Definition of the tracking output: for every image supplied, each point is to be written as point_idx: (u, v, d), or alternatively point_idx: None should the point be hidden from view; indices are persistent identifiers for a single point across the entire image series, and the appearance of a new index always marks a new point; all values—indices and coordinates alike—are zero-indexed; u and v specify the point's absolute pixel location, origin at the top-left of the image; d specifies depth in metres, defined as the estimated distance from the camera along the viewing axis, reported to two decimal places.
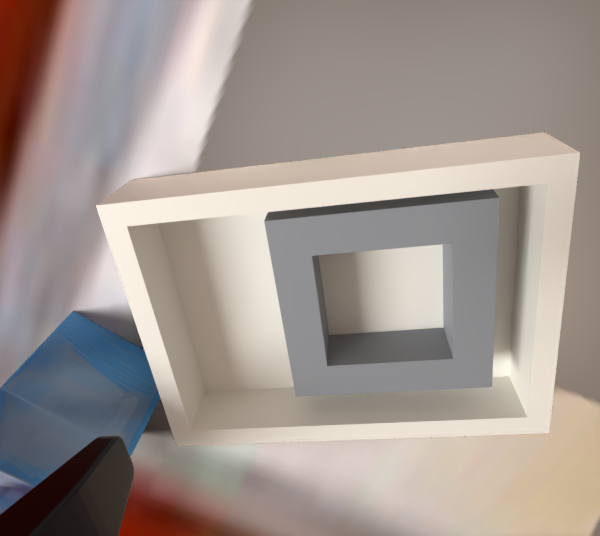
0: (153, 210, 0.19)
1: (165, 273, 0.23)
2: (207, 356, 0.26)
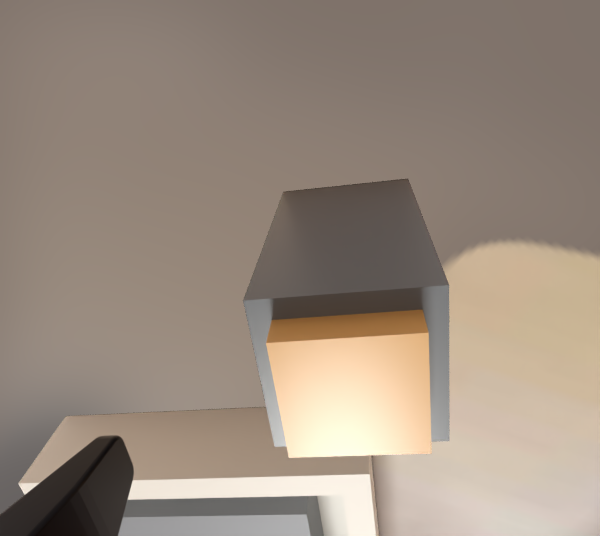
0: None
1: None
2: None
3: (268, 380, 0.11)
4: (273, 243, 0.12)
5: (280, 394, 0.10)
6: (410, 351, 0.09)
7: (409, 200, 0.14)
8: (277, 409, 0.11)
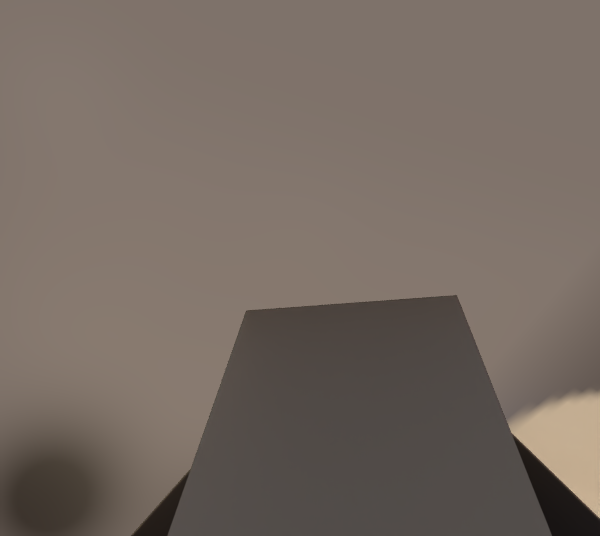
0: None
1: None
2: None
3: None
4: (200, 496, 0.06)
5: None
6: None
7: (471, 365, 0.07)
8: None
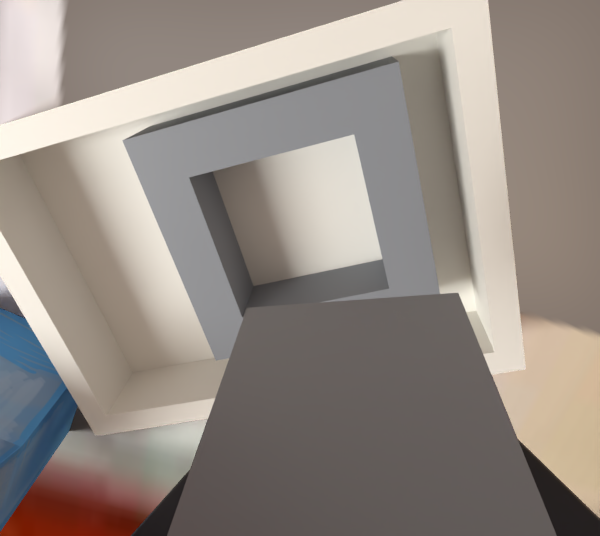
0: None
1: (47, 232, 0.20)
2: (124, 330, 0.23)
3: None
4: (201, 492, 0.06)
5: None
6: None
7: (473, 361, 0.07)
8: None
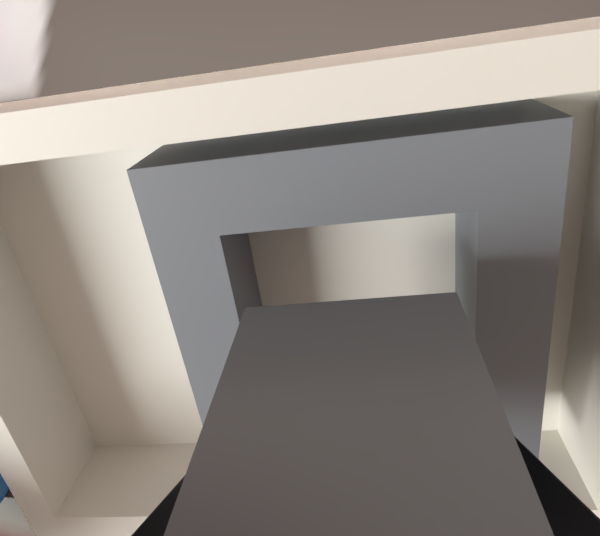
0: None
1: None
2: (92, 396, 0.17)
3: None
4: (198, 492, 0.06)
5: None
6: None
7: (471, 361, 0.07)
8: None
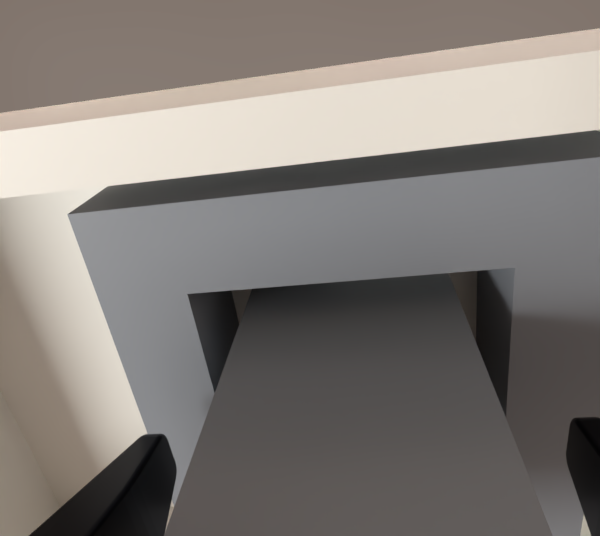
0: None
1: None
2: (53, 455, 0.15)
3: None
4: (231, 389, 0.07)
5: None
6: None
7: (447, 298, 0.09)
8: None
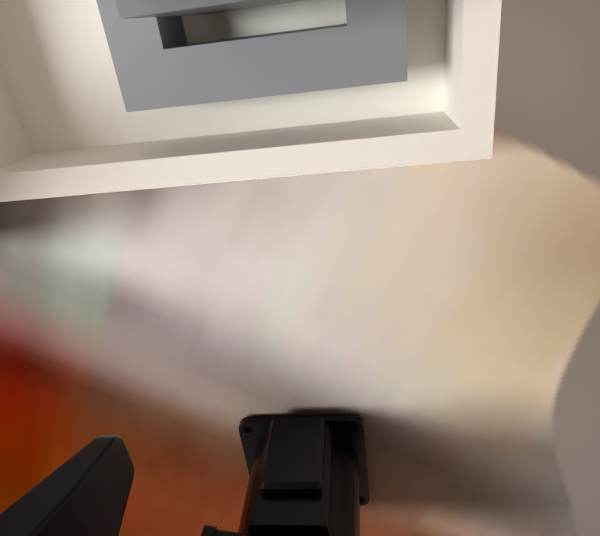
0: None
1: None
2: (25, 90, 0.18)
3: None
4: None
5: None
6: None
7: None
8: None
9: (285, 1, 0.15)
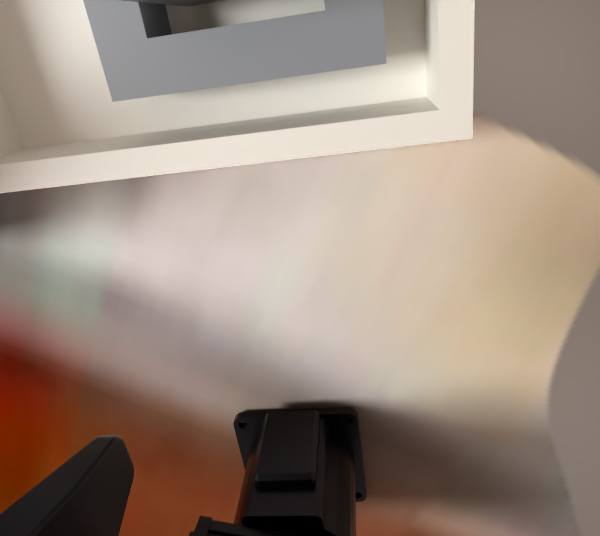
0: None
1: None
2: (15, 85, 0.19)
3: None
4: None
5: None
6: None
7: None
8: None
9: None
